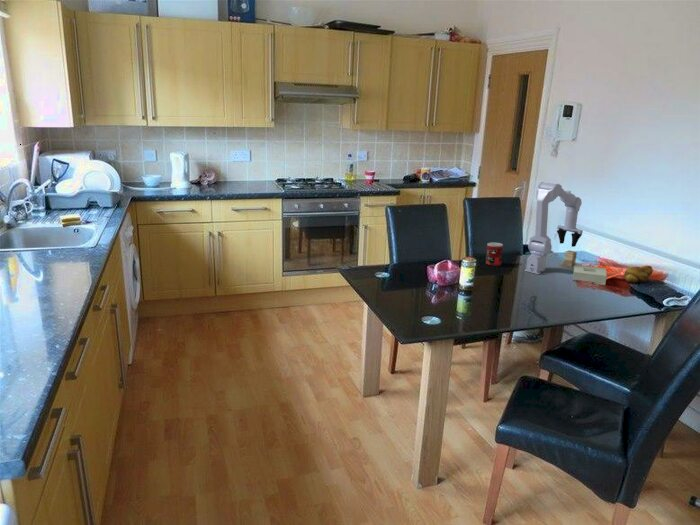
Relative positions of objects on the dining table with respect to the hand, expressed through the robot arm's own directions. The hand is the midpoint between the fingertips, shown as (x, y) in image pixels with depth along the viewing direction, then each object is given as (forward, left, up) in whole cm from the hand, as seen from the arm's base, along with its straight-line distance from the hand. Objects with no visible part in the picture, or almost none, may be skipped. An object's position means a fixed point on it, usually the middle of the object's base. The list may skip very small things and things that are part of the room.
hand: (567, 244), depth 269 cm
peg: (-9, -7, -9) cm, 14 cm away
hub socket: (-19, -22, -10) cm, 30 cm away
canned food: (-33, +22, -10) cm, 41 cm away
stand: (-9, -7, -10) cm, 15 cm away
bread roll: (-4, -37, -10) cm, 38 cm away
